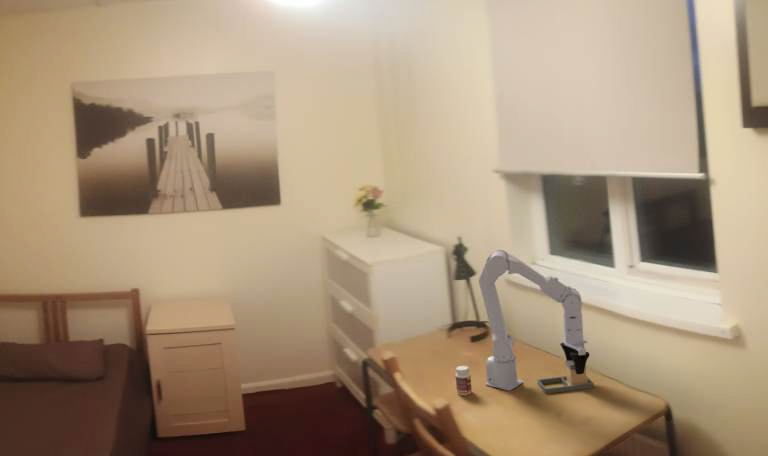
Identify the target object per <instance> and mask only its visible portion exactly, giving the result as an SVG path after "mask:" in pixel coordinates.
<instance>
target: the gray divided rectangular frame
mask: <svg viewBox="0 0 768 456" xmlns="http://www.w3.org/2000/svg"><path fill="white" fill-rule="evenodd" d="M586 379H587V383H586V384H578V385H569V384H568V382H567V375H565V376H564V375H563V376H556V377H548V378H547V377H545V378H540V379H537V380H536V381H537V385H538V386H539V388H540V389H541V390H542V392H543V393H544V394H545V395H549V394H556V393H563V392H571V391H572V392H573V391H579V390H587V389H594V388H595V385H594V384H595V383H594V381H592V380H591V379H590V378H589V377H588V376H587V375H586ZM554 383H555V384H556V383H561V384H562V385H563V386H557V387H556V386H555V387H548V388H546V387H545V386H544V385H545V384H554Z"/></svg>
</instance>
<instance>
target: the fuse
mask: <svg viewBox="0 0 768 456" xmlns="http://www.w3.org/2000/svg"><path fill="white" fill-rule="evenodd" d="M586 366H587V363H586V364H585V369H584V374H576V371H575V366H574V362H573V360H570V361H567V360H565V373H566V375H565V376H567V382H568V384H569V385H578V384H586V383H587V379H586V376H587V367H586Z"/></svg>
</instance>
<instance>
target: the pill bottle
mask: <svg viewBox="0 0 768 456" xmlns="http://www.w3.org/2000/svg"><path fill="white" fill-rule="evenodd" d="M471 378H472V377H471V373H470V368H469V367H468V366H467V365H459V366H457V367H456V368H455V382H456V383H455V384H456V392H457V394H458V395H459V394H460V396H468V394H469V395H471V393H472V391H473V390H472V379H471Z"/></svg>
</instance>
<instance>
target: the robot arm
mask: <svg viewBox="0 0 768 456" xmlns="http://www.w3.org/2000/svg"><path fill="white" fill-rule="evenodd" d="M506 272H507V274H508V275H513V274H518V275H519V276H521V277H523V278H525V279H526V280H529V281H530V282H532V284H536V285H537V286H539V290H540V292H541V293H543V294H544V295H546V296H547V297H549V298H551V299H552V300H554V301H555V302H557V303H560V304H561V305H562V307H563V308H562V309H563V314H562V319H563V342H561V343H560V347H561V348H562V351H563V353H564V356H565V359H566V360H565V361H570V360H573V362H574V366H575V371H576V374H584V369H585V364H586V365H587V361H588V359H589V357H590V352H588V351H586V348H585V344H588V340H587V339H585V338H584V325H583V313H582V306H583V302H582V296H581V294H580V292H579V291H578V290H576V288H572V286H570V285H565V284H564V283H562V282H561V281H559V278H558V277H556V276H554V277H553V276H550V275H549V276H543V274H541V273H539V272H538V271H536V270H535V269H534V268H532V267H531V266H529V265H528V264H526V263H525V262H524V261H522V260H520V259H519V258H518V257H516V256H514V255H512V254H511V253H508V252H507V251H505V250H504V249H503V250H502V249H497V250H495V251H494V250H493V252H492V253H491V254H490V255H489V257H488V258H487V259H486V262H485V264H484V266H483V269H482V271H481V273H480V276H479V279H478V284H479V288H480V291H481V295H482V296H481V297H482V299H483V304H484V307H485V311H486V315H487V319H488V322H489V323H488V324H489V327H490V331H491V337H492V338H491V339H492V344H493V349H492V355H490V356H489V357H488V358H487V359H486V363H485V364H486V365H485V370H486V381H487V382H486V383H485V385H486V386H489V387H493V388H496V389H497V388H498V389H501V390H505V391H509V392H510V391H512V390H513V389H515V388H517V387H519V385H521V384H524V381H523V380H521V379H518V372H517V369H518V368H517V358H516V355H515V354H514V353H513V350H514V347H515V340H514V339H513V338H512V336H510V332H509V330H508V328H507V326H506V322H505V319H504V314H503V310H502V306H501V303H500V299H499V293H498V290H497V288H496V287H497V286H496V282H497V280H498V279H499V277H501V276H503V275H505V273H506Z"/></svg>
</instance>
